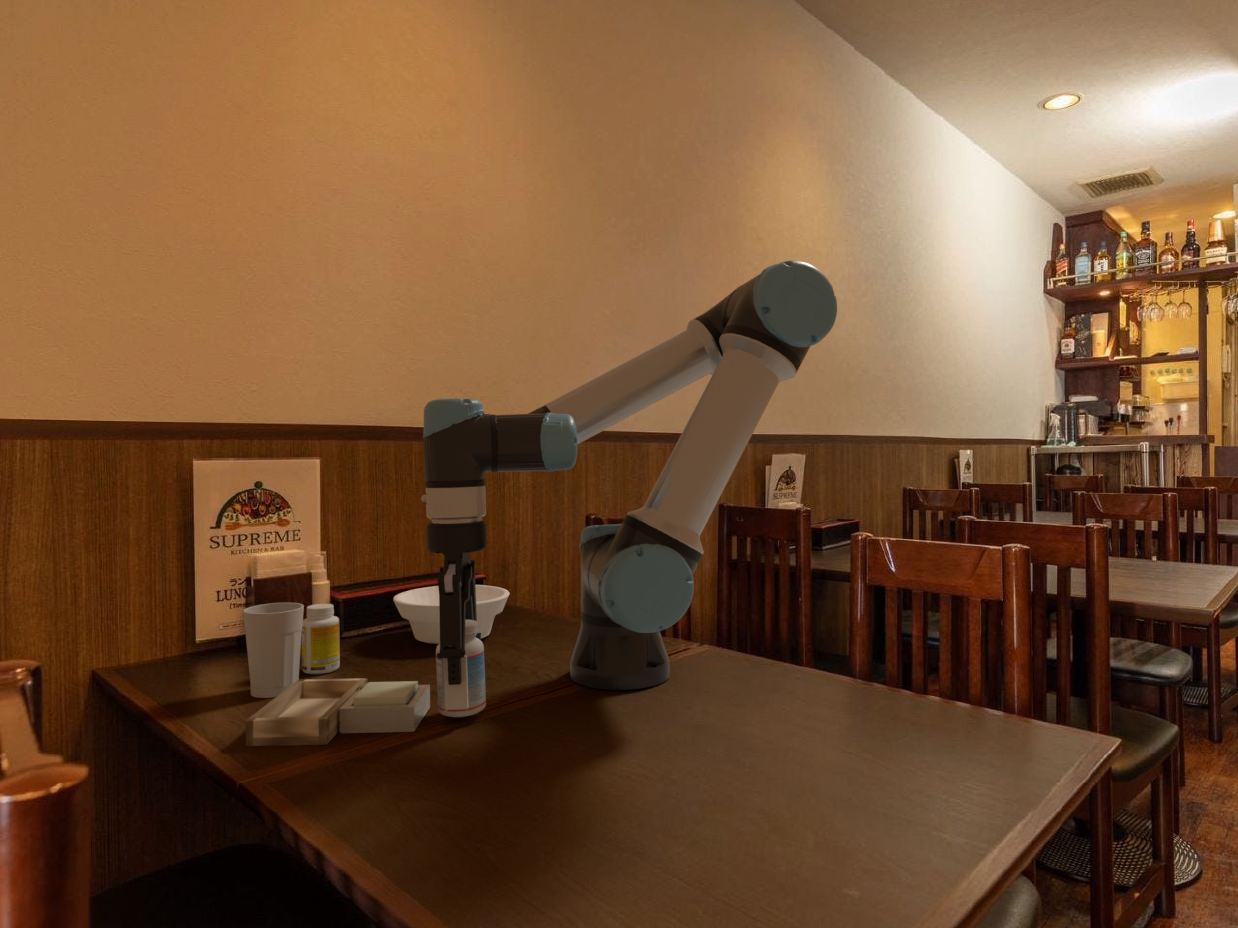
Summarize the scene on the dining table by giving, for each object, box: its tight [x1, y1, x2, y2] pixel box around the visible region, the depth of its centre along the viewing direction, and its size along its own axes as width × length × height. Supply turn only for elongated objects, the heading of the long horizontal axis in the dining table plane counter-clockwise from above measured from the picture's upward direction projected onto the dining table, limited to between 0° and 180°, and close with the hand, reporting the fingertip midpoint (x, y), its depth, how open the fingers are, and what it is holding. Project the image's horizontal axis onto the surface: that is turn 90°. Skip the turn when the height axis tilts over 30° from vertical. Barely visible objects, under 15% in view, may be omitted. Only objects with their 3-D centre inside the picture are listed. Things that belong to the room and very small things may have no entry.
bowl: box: [392, 584, 511, 645], centre depth 139 cm, size 21×21×8 cm
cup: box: [242, 602, 305, 699], centre depth 108 cm, size 8×8×12 cm
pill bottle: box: [435, 620, 487, 718], centre depth 96 cm, size 6×6×11 cm
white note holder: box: [339, 682, 431, 734], centre depth 96 cm, size 9×9×3 cm
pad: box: [354, 680, 419, 706], centre depth 96 cm, size 6×6×1 cm
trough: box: [244, 677, 368, 747], centre depth 95 cm, size 9×16×3 cm, turn 2°
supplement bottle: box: [301, 603, 341, 675], centre depth 118 cm, size 6×6×10 cm
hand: (461, 699), depth 96 cm, fingers closed on pill bottle, 6 cm apart
